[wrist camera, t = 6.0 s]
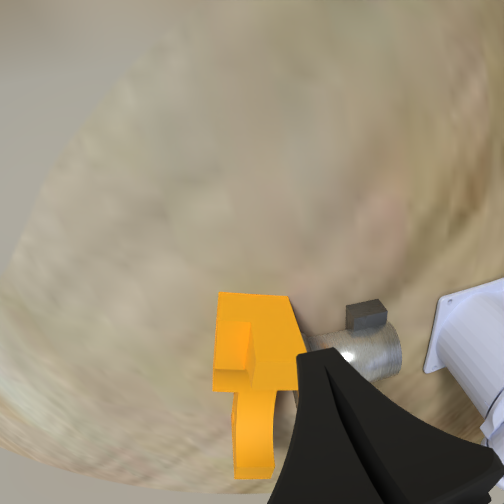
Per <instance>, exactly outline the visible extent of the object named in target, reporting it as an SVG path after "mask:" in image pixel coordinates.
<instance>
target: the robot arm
mask: <svg viewBox="0 0 504 504" xmlns="http://www.w3.org/2000/svg"><path fill="white" fill-rule="evenodd" d="M296 365H297V379H298V392H299V399H298V407H297V414H296V420H295V425H294V430H293V434H292V438H291V442H290V446H289V449H288V453H287V456H286V459H285V462H284V465H283V468H282V470H281V473H280V476H279V478H278V480H277V483H276V485H275V487H274V490H273V492H272V494H271V496H270V499H269V501H268V503H267V504H488V503H490V502H491V497H490V495H489V493H488V492H489V491H490V490H491V489H492V488H493V487H494V486H495V485H496V486H498V487H499V488H500V489H502V490H504V278H501V279H498V280H495V281H492V282H489V283H486V284H482V285H479V286H476V287H473V288H469V289H466V290H463V291H459V292H456V293H452V294H449V295H445V296H443V297H441V298H440V299H439V301H438V305H437V310H436V315H435V321H434V326H433V330H432V335H431V340H430V344H429V348H428V353H427V357H426V361H425V365H424V368H423V370H424V372H425V373H430V372H433V371H436V370H439V369H441V368H444V367H447V368H448V370H449V371H450V372H451V374H452V375H453V376H454V378H455V379H456V380H457V382H458V383H459V384H460V386H461V387H462V389H463V390H464V391H465V393H466V394H467V395H468V397H469V398H470V400H471V401H472V402H473V404H474V405H475V407H476V408H477V409H478V411H479V412H480V414H481V415H482V417H483V418H484V419H485V421H484V423H483V424H482V425H481V426H480V429H481V431H482V432H483V434H484V435H485V437H484V438H483V439H482V441H481V445H479V444H476V443H472V442H469V441H466V440H463V439H460V438H458V437H455V436H453V435H450V434H448V433H446V432H444V431H441V430H439V429H437V428H435V427H433V426H431V425H429V424H427V423H425V422H424V421H422V420H420V419H418V418H417V417H415V416H413V415H412V414H410V413H409V412H407V411H406V410H404V409H402V408H401V407H400V406H398V405H397V404H395V403H394V402H393V401H391V400H390V399H389V398H388V397H386V396H385V395H384V394H382V393H381V392H380V391H379V390H378V389H376V388H375V387H374V386H373V385H372V384H371V383H370V382H369V381H367V380H366V379H365V378H364V377H363V376H362V375H361V374H360V373H359V372H358V371H357V370H356V369H355V368H354V367H353V366H352V365H351V364H350V363H349V362H348V361H347V360H346V359H345V358H344V357H343V356H342V355H341V354H340V352H339V351H338V350H337V349H336V348H334V347H331V348H326V349H321V350H316V351H311V352H306V353H301V354H298V355H297V356H296ZM503 504H504V503H503Z"/></svg>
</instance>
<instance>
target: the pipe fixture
mask: <svg viewBox="0 0 504 504" xmlns="http://www.w3.org/2000/svg"><path fill="white" fill-rule="evenodd" d="M387 312H388V311H387V310H386V308H385V307H384V306H383V304H382V303H381V302H380V301H379V299H375V300H371V301H366V302H362V303H357V304H352V305H347V306H346V330H342V331H338V332H333V333H328V334H323V335H318V336H313V337H308V338H307V337H306V335H305V334H304V333H301V336H302V339H303V342H304V345H305V348H306V351H307V352H311V351H316V350H321V349H326V348H331V347H334V348H336V349H337V350H338V351H339V352H340V354H341V355H342V356H343V357H344V358H345V359H346V360H347V361H348V362H349V363H350V364H351V365H352V366H353V367H354V368H355V369H356V370H357V371H358V372H359V373H360V374H361V375H362V376H363V377H364V378H365V379H366V380H367V381H369V382H374V381H377V380H381V379H384V378H388V377H391V376H395V375H397V374H398V373H399V371H400V369H401V364H402V352H401V345H400V341H399V338H398V335H397V333H396V330H395V329H394V327H393V325H392V324H391V323H390V322H388V321H387ZM293 394H294V399H295V403H296V408H297V407H298V399H299V392H298V390H293Z"/></svg>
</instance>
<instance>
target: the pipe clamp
mask: <svg viewBox="0 0 504 504" xmlns="http://www.w3.org/2000/svg"><path fill="white" fill-rule="evenodd" d="M306 352H307V351H306V348H305V345H304V342H303V339H302V336H301V333H300V330H299V327H298V324H297V322H296V319H295V316H294V313H293V310H292V307H291V304H290V301H289V299H288V296H274V295H258V294H242V293H228V292H219V294H218V307H217V319H216V333H215V346H214V361H213V391H217V392H234V399H233V406H232V414H231V422H232V442H233V461H234V478H235V479H271V476H272V473H273V471H274V468H275V463H274V453H273V415H274V405H275V398H276V393H277V390H298V379H297V365H296V356H297V355H298V354H301V353H306Z"/></svg>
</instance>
